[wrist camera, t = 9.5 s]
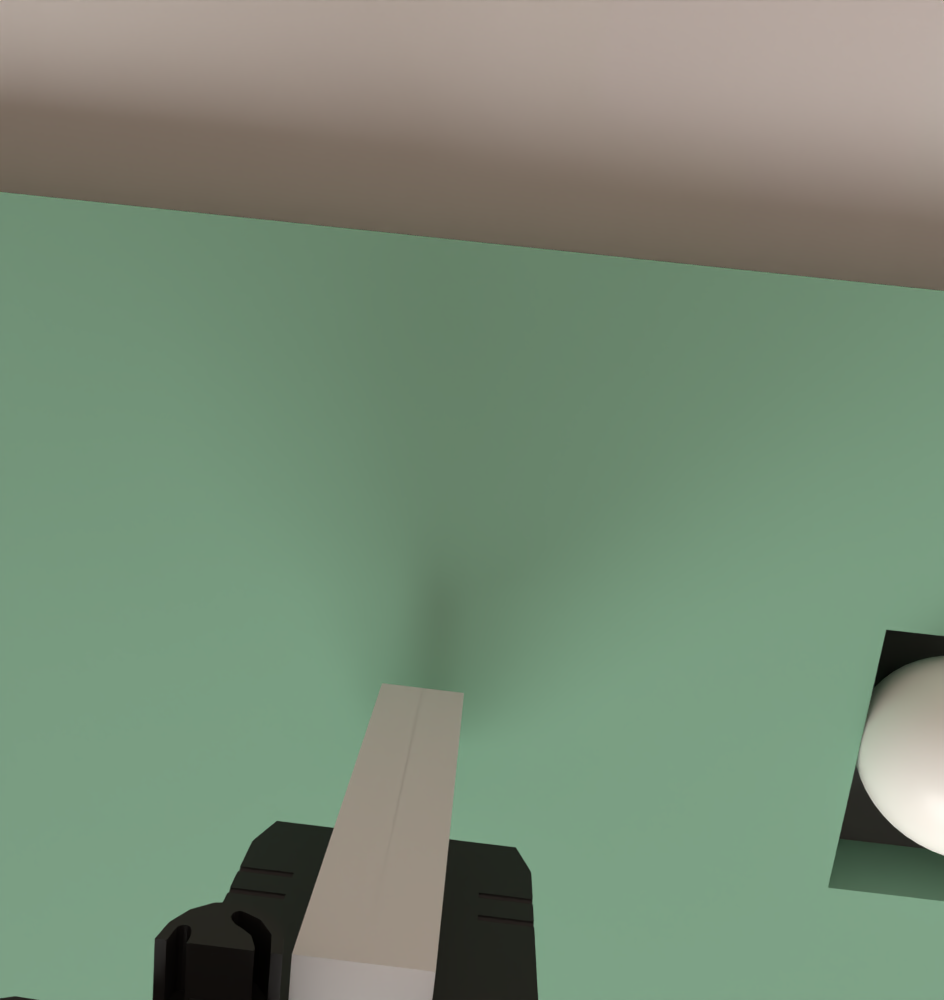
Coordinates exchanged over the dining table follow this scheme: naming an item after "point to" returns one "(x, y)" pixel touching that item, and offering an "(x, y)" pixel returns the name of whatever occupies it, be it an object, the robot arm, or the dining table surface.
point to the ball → (907, 751)
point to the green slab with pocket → (463, 587)
